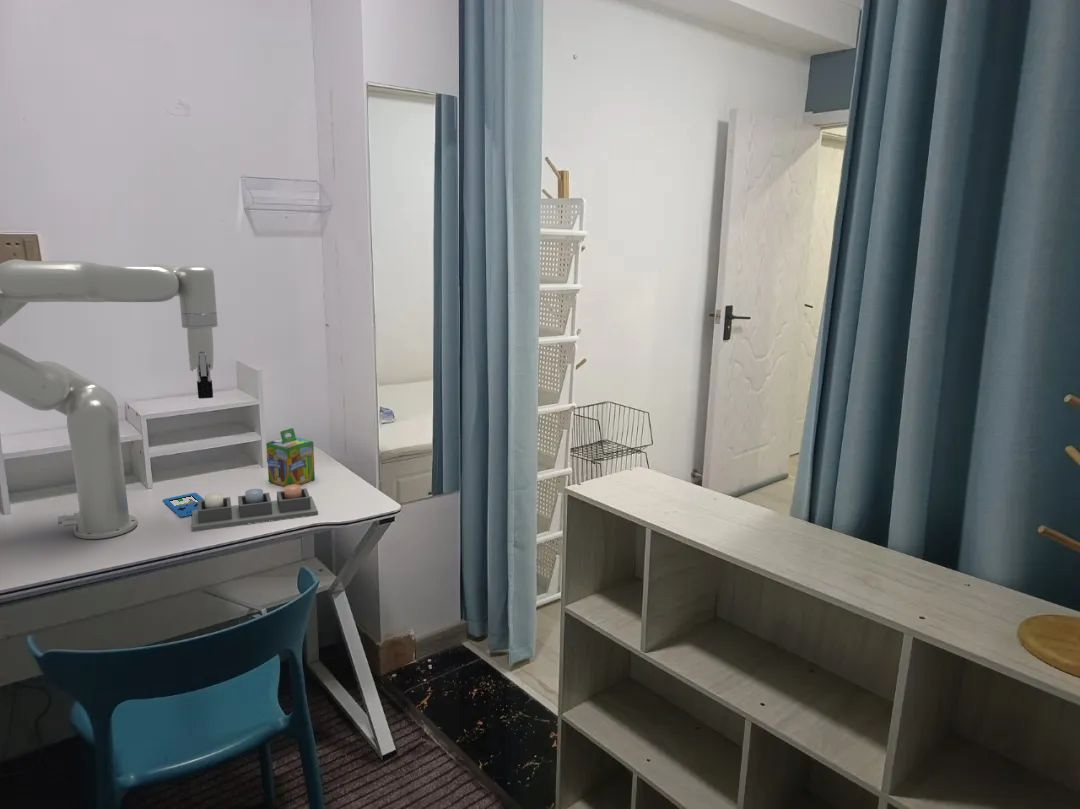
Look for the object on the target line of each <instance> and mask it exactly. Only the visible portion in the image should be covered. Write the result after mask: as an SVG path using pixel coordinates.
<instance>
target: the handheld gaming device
mask: <svg viewBox="0 0 1080 809" xmlns="http://www.w3.org/2000/svg"><path fill="white" fill-rule="evenodd" d="M191 496H192V497H193V498H194V499H195V500H197V501H201V500H205V498H203V497H201V495H199V494H198V493H197V492H191V493H186V494H181V495H177V496H172V497H166V498H164V499H162V503H163V502H164V503H165V505H166V506H167V508H169V509H170V510H171V511H172V512H173V513H174V514H175V515H176V514H177V515H178V516H179V517H180V519H185V517H186V518H191V517H192V510H198V502H195V501H193V500H192V499H189V500H190V501H189V502H188V503H184V504H179V505H176V506H174V505H173V504H172V503H171V502H170V501H173V500H178V501H179V502H180V501H183V499H182V498H186V497H191ZM164 503H163V504H164ZM178 516H177V517H178ZM190 516H191V517H190ZM179 517H178V518H179Z"/></svg>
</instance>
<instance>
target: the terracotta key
mask: <svg viewBox="0 0 1080 809" xmlns="http://www.w3.org/2000/svg"><path fill="white" fill-rule="evenodd" d="M283 487H284V488H283V489H284V490H283V491H285V500H286V499H294V498H302V491H301V489H302V484H301V485H297V484H292V485H287V486H283Z"/></svg>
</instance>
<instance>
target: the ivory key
mask: <svg viewBox="0 0 1080 809" xmlns="http://www.w3.org/2000/svg"><path fill="white" fill-rule="evenodd" d="M223 498H224V495H223V494H222V493H219V492H215V493H209V494H206V495H205V496H204V500H205V509H211V508H220V507H224V504H223Z"/></svg>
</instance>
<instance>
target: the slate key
mask: <svg viewBox="0 0 1080 809" xmlns="http://www.w3.org/2000/svg"><path fill="white" fill-rule="evenodd" d="M244 493H245V494H244V495H245V496H246V504H253V503H261V502H264V500H263V493H264V490H263V489H262V488H251V489H248V490H246V491H245V492H244Z"/></svg>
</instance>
